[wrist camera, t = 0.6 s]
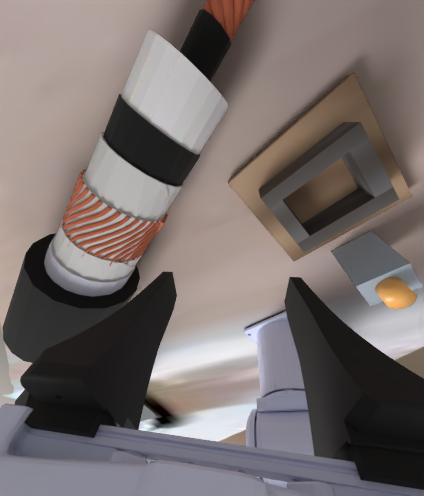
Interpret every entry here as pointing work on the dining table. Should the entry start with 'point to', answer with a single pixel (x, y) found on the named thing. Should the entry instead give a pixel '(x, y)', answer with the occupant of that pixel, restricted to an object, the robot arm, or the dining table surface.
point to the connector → (378, 271)
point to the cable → (124, 187)
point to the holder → (323, 173)
